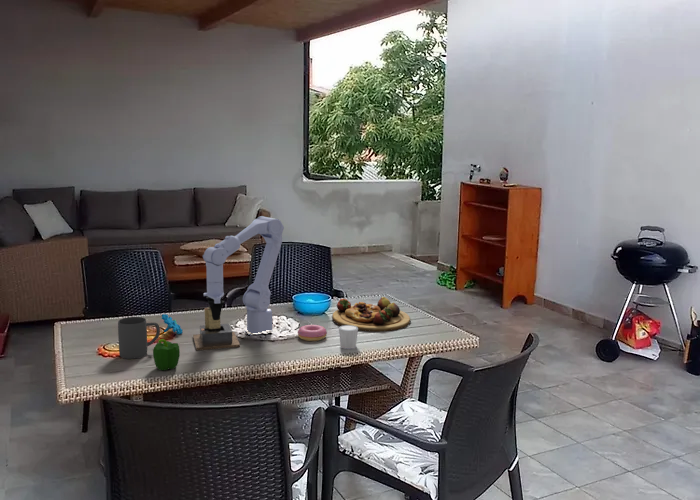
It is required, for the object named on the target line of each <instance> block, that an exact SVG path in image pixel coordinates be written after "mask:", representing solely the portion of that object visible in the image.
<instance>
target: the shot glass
mask: <svg viewBox="0 0 700 500" xmlns="http://www.w3.org/2000/svg"><path fill="white" fill-rule="evenodd" d="M338 333H339V344H340V348H342V349H346V350H352V349H356V348H357V347H356V346H357V343H358V342H357V341H358V333H359V331H358V327H356V326H353V325H344V326H339V327H338Z"/></svg>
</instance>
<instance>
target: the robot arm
mask: <svg viewBox="0 0 700 500" xmlns="http://www.w3.org/2000/svg"><path fill="white" fill-rule="evenodd" d="M284 229H285V227H284V225H283V222H282V221H281V220H280V219H279V218H273V217H267V216H263V215H261V216H258V217H257V218H255V219H253V220H252V222H251V223H250V224H249V225H248V226H247V227H245V228H243V230H241V231H240V232H238V233H237V234H235V235H226V236H225V237H224V239H223V240H221V241H220V242H218V243H215V244H214V246H209V247H207V248H206V249H205V251H204V252H203V254H202V258H203V261H204V262H205V266H206V267H205V268H206V292H204V293H203V297H206V300H207V303H208V306H209V307H211V311H212V317H213V320H219V319H220V320H221V315H222V309H223V307H224V305H225V301H224V300H223V296H224V295H225V293H224V292H225V291H224V264H225V262H226V261H227V259H228V257H230V256H231V255H233V254H234V253H236V252H237V251H238V250H239V249H240V248H241V244H243V243H245V242H246V241H248V240H249V239H251V238H253V237H255V236H256V235H260V236H261V237H262V238H263V239H264V242H265V243H266V244H265V247H264V250H263V253H262V256H261V259H260V262H259V266H258V269H257V273H256V275H255V279H254V282H253V283H251V284H250V285H249V286H248V287H247V290H246V291H245V292H244V294H243V296H242V302H243V305H244V306H245V309H246V328H247V330H248V331H249V332H251V333H258V332H262V331H266V330H272V331H273V313H272V309H271V308H269V307H270V304H271V294H272V293H271V290H270V289H269V285H270V281H271V278H272V275H273V273H274V269H275V265H276V262H277V259H278V256H279V253H280V250H281V246H282V243H283V232H284ZM248 335H250V336H252V335H251V334H248ZM248 335H247V336H248Z"/></svg>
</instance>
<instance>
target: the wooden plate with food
mask: <svg viewBox="0 0 700 500" xmlns="http://www.w3.org/2000/svg"><path fill="white" fill-rule="evenodd" d="M336 308H337V310H334V312H333V313H332V315H331V318H332V321H333V322H334V323H335V324H336V325H337V326H339V327H340V326H344V325H353V326H356V327H358V332H366V333H367V332H368V333H369V332H370V333H378V332H379V333H381V332H383V333H384V332H392V331H397V330H401V329H404V328H406V327H408V326H409V325H410V323H411V317H410V315H409V314H408V313H406V312H405V311H402V310H401V309H400V307H399V306H398V304H396V303H395V302H391V301H390V300H389V299H388V298H386V297H385V296H381V297H380V299H379V300H378V301H377V305H375V304H373V303H365V302H364V301H359V302H356V303H354V305H352V303H351V302H350V301H349V300H348V299H346V298H340V299H339V301H338V302H337V303H336Z"/></svg>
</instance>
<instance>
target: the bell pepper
mask: <svg viewBox="0 0 700 500" xmlns="http://www.w3.org/2000/svg"><path fill="white" fill-rule="evenodd" d="M180 351H181V350H180V345H179V344H178V343H177V342H171V341H169V340H166V339H164V338H162V339H161V338H160V339H159V340H158V341H157V343H156V344H155V346H154V347H153V349H152V357H153V360H154V365H155V367H156V368H157V370H159V371H168V370H173V369H175V368H176V367H177V366H178V365H179V360H180V354H181V353H180Z"/></svg>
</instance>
